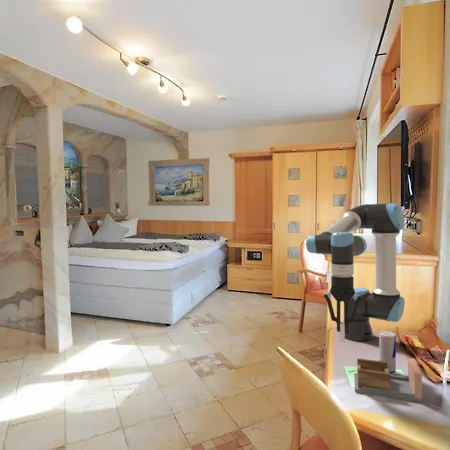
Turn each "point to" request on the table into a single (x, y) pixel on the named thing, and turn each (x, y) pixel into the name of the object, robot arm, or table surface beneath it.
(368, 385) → the open wooden box
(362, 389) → the board
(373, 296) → the robot arm
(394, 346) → the beverage can
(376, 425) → the table surface
